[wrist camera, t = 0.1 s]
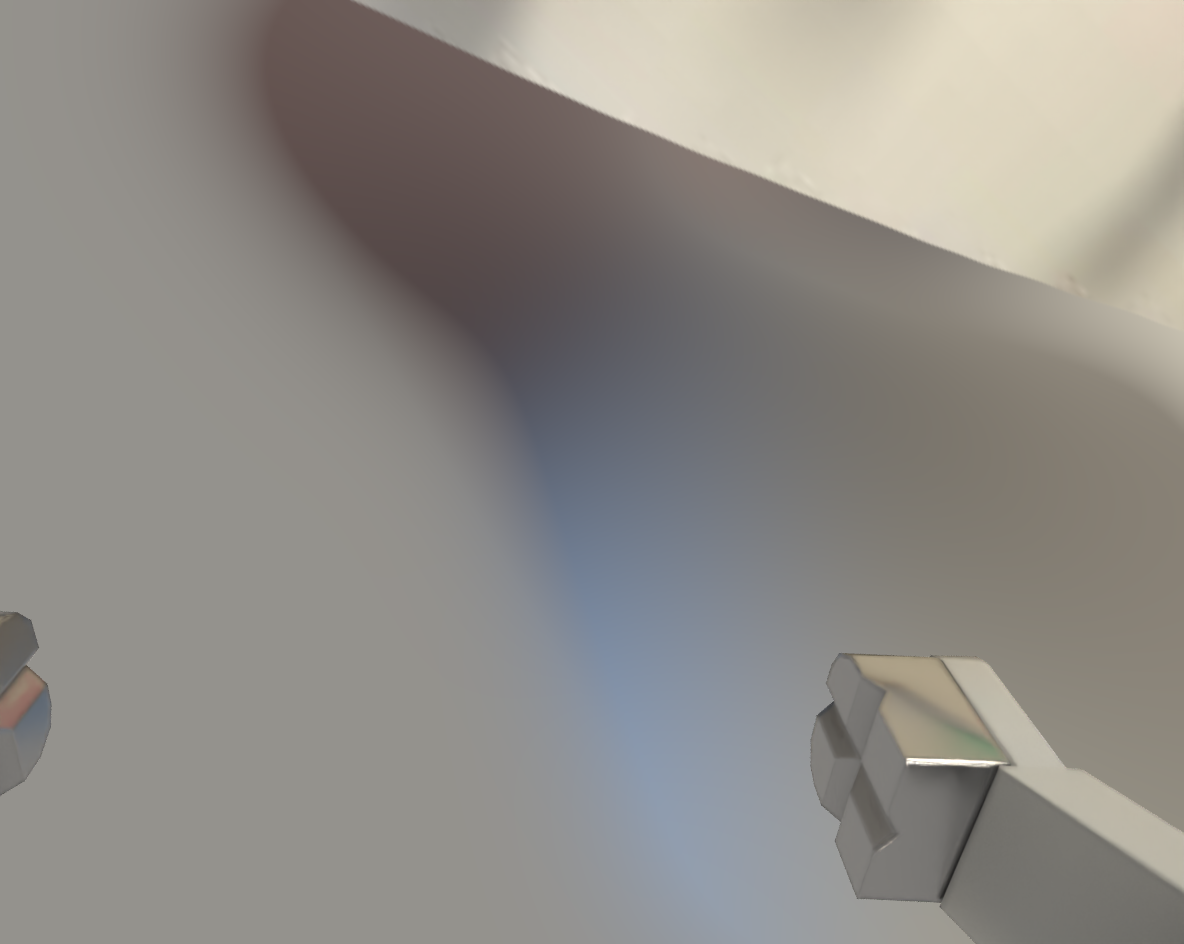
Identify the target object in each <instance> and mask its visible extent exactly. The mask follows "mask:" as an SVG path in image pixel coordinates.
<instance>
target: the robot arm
mask: <svg viewBox="0 0 1184 944" xmlns="http://www.w3.org/2000/svg"><path fill="white" fill-rule="evenodd" d="M38 648H39V646H38V643H37V639H36V636H35V632H34V629H33V625H32V622H31V620H30V619H28V618H26V617H24V616H23V615H21V614H19V613H17V612H3V611H0V795H2V794H4V793H5V792H7V791H9V790H10V789H12V788H14V787H15V786H17V785H19V784H20V783H22V782H24V781H25V779H26V778H27V777H28V775H29V774H30V772H31V771H32V769H33V768H34V766H35V765H36V763H37V762H38V760H39V759H40V757H41V754H42V751H43V748H44V745H45V742H46V740H47V736H48V733H49V731H50V728H51V699H50V695H49V690H48V685H47V683H46V682H44V681H43V680H42V679H41V678H40V677H39V676H38V675H37V674H36V673H35V672H34V671H32V670H31V669H30V668H29V667H28V666H27V664H28V662H29V661H30V659H31V658H32V657H33V655H34V654H35V653H36V651H37V650H38ZM826 684H827V686H828V689H829V691H830V693H831V695H832V698H833V700H834V701H833V702H832V703H831V704H830V705H829V706H827V707H826V708H825V709H824V710H823V711H821V712H820V713H819V714H818V715H817V717H816V721H815V725H814V729H813V733H812V737H811V771H812V776H813V781H814V786H815V789H816V792H817V795H818V797H819V800H820V803H821V805H822V806H823V807H824V808H825V809H826V810H827V811H829V812H830V813H831V814H832V815H833V816H834V817H836V818H837V819H838V820H839V821H840V822H841V823H840V827H839V830H838V833H837V836H836V839H835V842H836V845H837V848H838V851H839V853H840V856H841V858H842V861H843V863H844V866H845V869H846V871H847V874H848V877H849V879H850V882H851V884H852V887H853V890H854V892H855V895H856V897H857V899H877V900H898V901H918V902H919V901H920V902H939V903H941V904H940V908H941V909H942V910H943V911H944V912H945V913H946V914H947V915H948V916H949V917H950V918H951V919H952V920H953V921H954V922H955V923H956V924H957V925H958V926H959V927H960V928H961V929H962V930H963V931H964V932H965V933H966V934H967V935H968V936H969V937H970V938H971V939H972V940H973V941H974V942H975V943H976V944H1184V833H1183V832H1181V831H1180V830H1178V829H1177V828H1175V827H1174V826H1172V825H1170V824H1169V823H1167V822H1165V821H1164V820H1162V819H1161V818H1159V817H1157V816H1156V815H1154V814H1153V813H1151V812H1149V811H1148V810H1146V809H1145V808H1143V807H1141V806H1140V805H1138V804H1137V803H1135V802H1133V801H1132V800H1130V799H1129V798H1127V797H1125V796H1123V795H1122V794H1120V793H1119V792H1117V791H1116V790H1114V789H1112V788H1111V787H1109V786H1108V785H1106V784H1104V783H1103V782H1101V781H1099V780H1098V779H1096V778H1095V777H1093V776H1092V775H1090V774H1088V773H1087V772H1085V771H1084V770H1082V769H1071V768H1065V766H1064V765H1063V763H1062V762H1061V761H1060V759H1059V758H1058V757H1057V755H1056V754H1055V753H1054V751H1053V750H1052V749H1051V747H1050V746H1049V745H1048V743H1047V742H1046V741H1045V739H1044V738H1043V737H1042V735H1041V734H1040V733H1039V731H1038V730H1037V728H1036V727H1035V726H1034V724H1033V723H1032V722H1031V721H1030V719H1029V718H1028V716H1027V715H1026V714H1025V712H1024V711H1023V710H1022V708H1021V707H1020V706H1019V704H1018V703H1017V702H1016V700H1015V699H1014V698H1013V696H1012V695H1011V694H1010V692H1009V691H1008V690H1007V688H1006V687H1005V686H1004V684H1003V683H1002V682H1001V680H1000V679H999V678H998V676H997V675H996V674H995V672H994V671H993V670H992V668H991V667H990V666H989V664H988V663H986V662H985V661H983V660H981V659H980V658H978V657H976V656H930V657H915V656H894V655H893V656H891V655H870V654H847V653H839V654H838V656H837V657H836V659H835V660H834V662H833V663H832V665H831V668H830V672H829V675H828V678H827V681H826Z"/></svg>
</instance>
